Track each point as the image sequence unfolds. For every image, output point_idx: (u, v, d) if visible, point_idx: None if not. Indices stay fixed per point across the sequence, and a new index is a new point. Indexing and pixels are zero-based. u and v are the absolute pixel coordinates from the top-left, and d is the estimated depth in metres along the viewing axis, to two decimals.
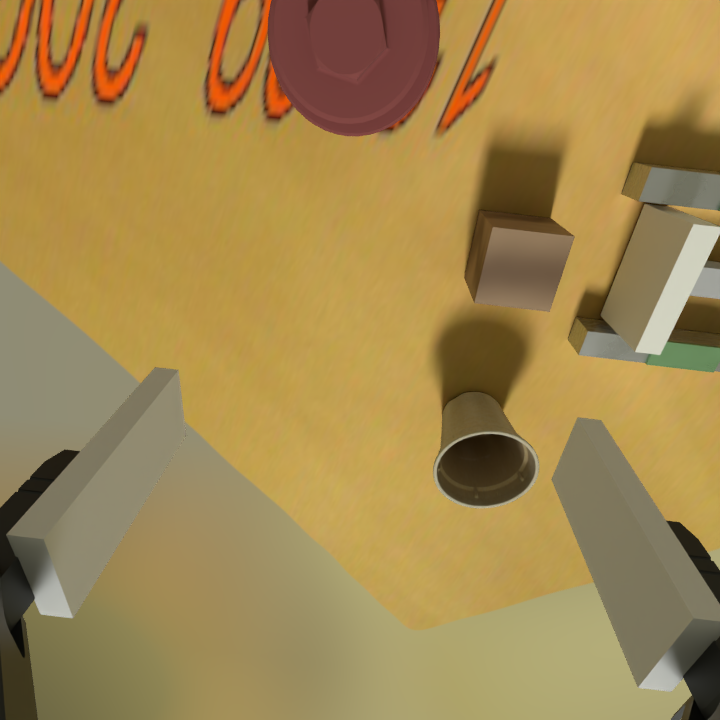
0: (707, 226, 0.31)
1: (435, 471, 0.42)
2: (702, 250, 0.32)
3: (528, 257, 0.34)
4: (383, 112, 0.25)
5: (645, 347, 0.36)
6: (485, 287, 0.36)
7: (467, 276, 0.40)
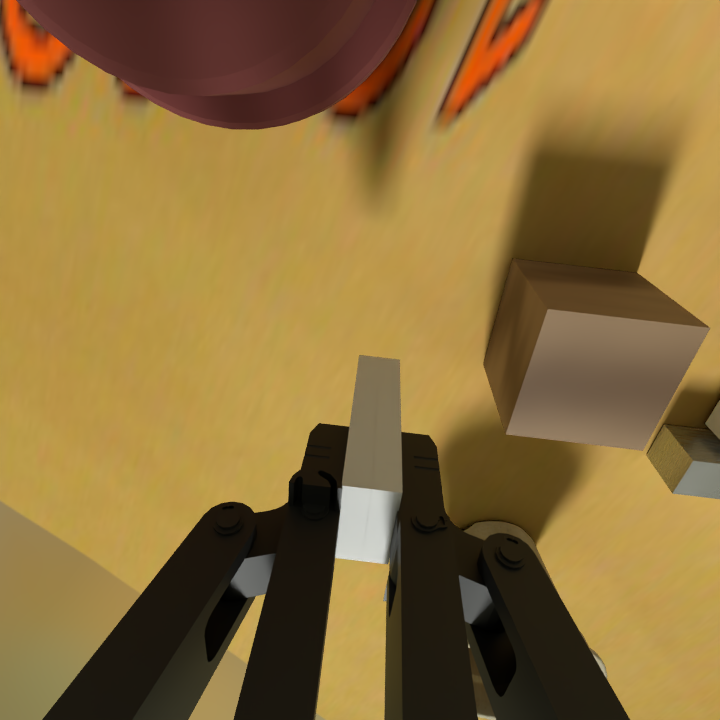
0: None
1: None
2: None
3: (612, 363, 0.18)
4: (287, 62, 0.09)
5: None
6: (527, 411, 0.19)
7: (489, 367, 0.24)
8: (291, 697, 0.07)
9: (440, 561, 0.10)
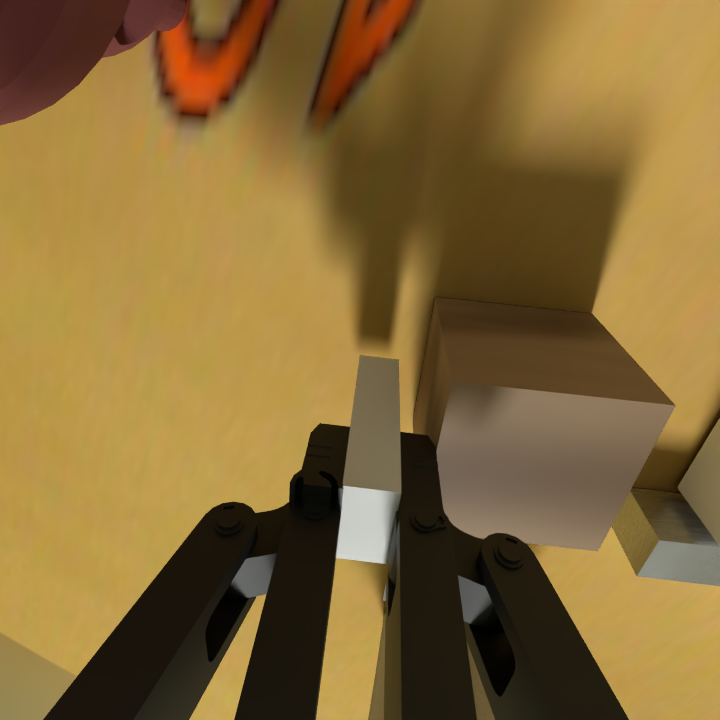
0: None
1: None
2: None
3: (547, 449, 0.13)
4: None
5: None
6: None
7: (415, 429, 0.19)
8: (291, 697, 0.07)
9: (439, 561, 0.10)
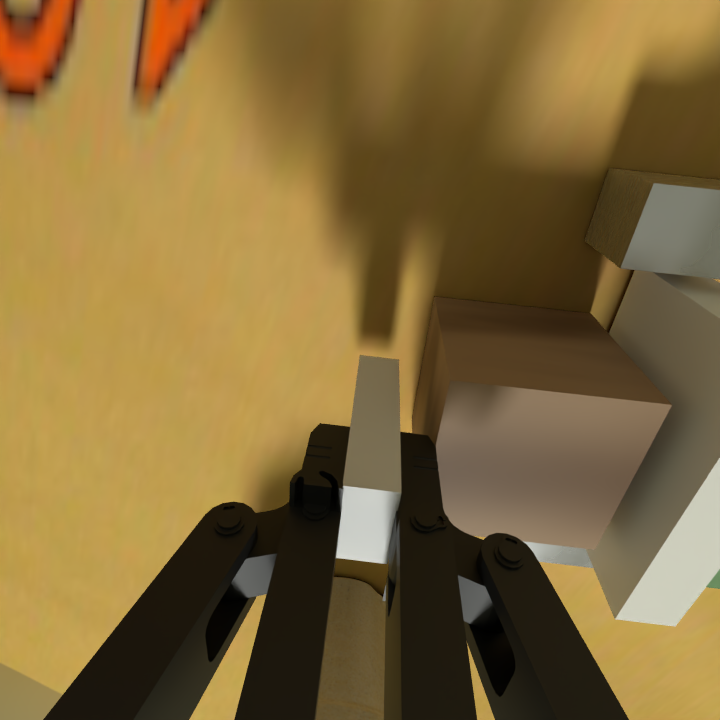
0: None
1: None
2: None
3: (544, 448, 0.13)
4: None
5: (639, 612, 0.15)
6: None
7: (414, 428, 0.19)
8: (291, 696, 0.07)
9: (439, 561, 0.10)
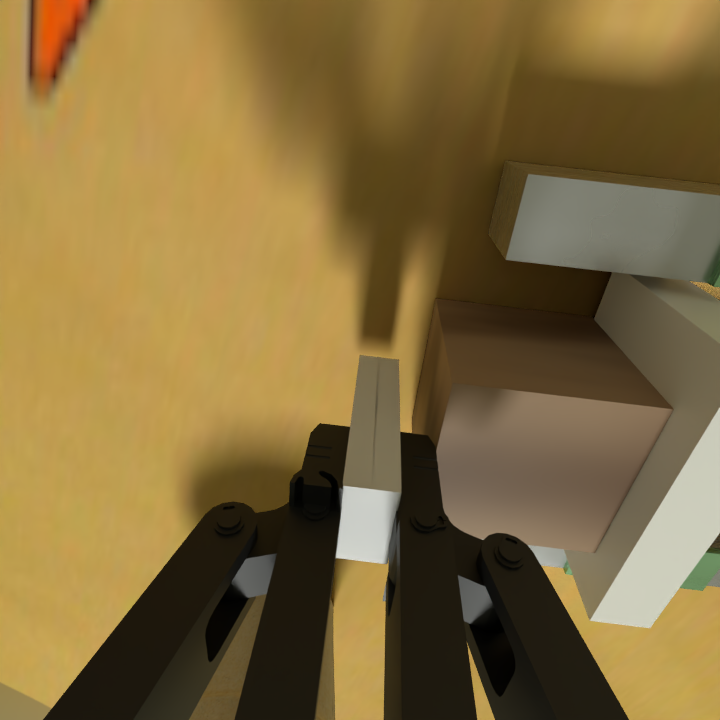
0: None
1: None
2: None
3: (546, 451, 0.13)
4: None
5: (614, 614, 0.15)
6: None
7: (414, 430, 0.19)
8: (291, 697, 0.07)
9: (439, 561, 0.10)
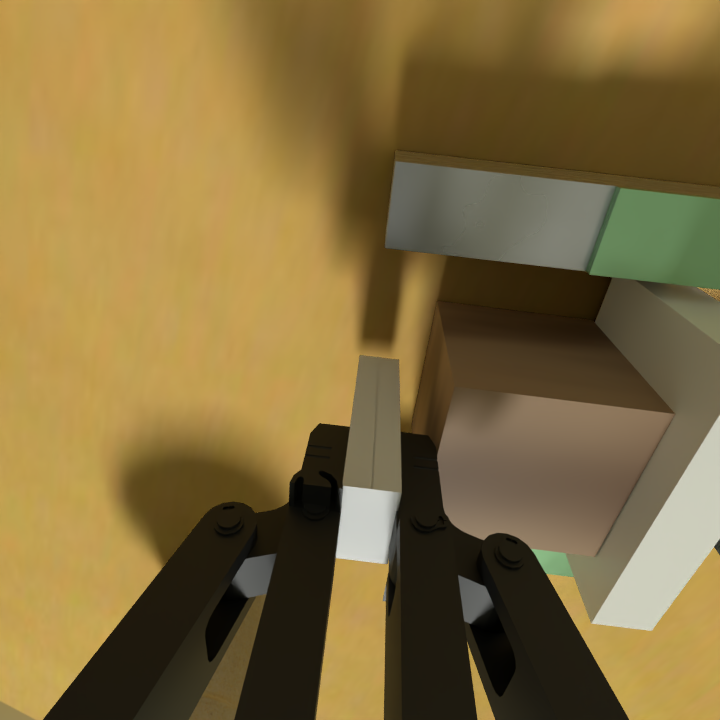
0: None
1: None
2: None
3: (547, 455, 0.13)
4: None
5: (615, 617, 0.15)
6: None
7: (414, 432, 0.19)
8: (291, 697, 0.07)
9: (439, 561, 0.10)
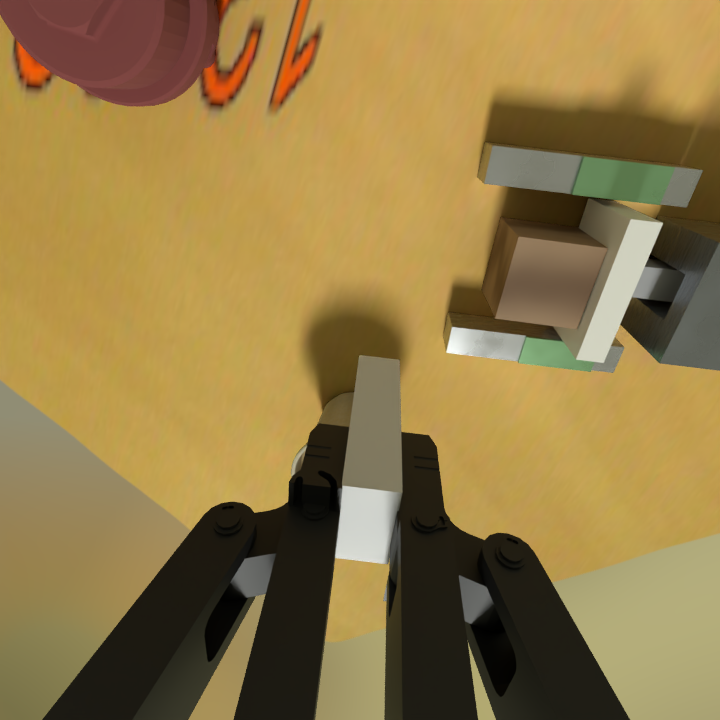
0: (646, 221, 0.28)
1: None
2: (642, 248, 0.29)
3: (556, 270, 0.31)
4: (133, 74, 0.22)
5: (587, 354, 0.33)
6: (507, 302, 0.33)
7: (485, 288, 0.37)
8: (291, 697, 0.07)
9: (440, 561, 0.10)
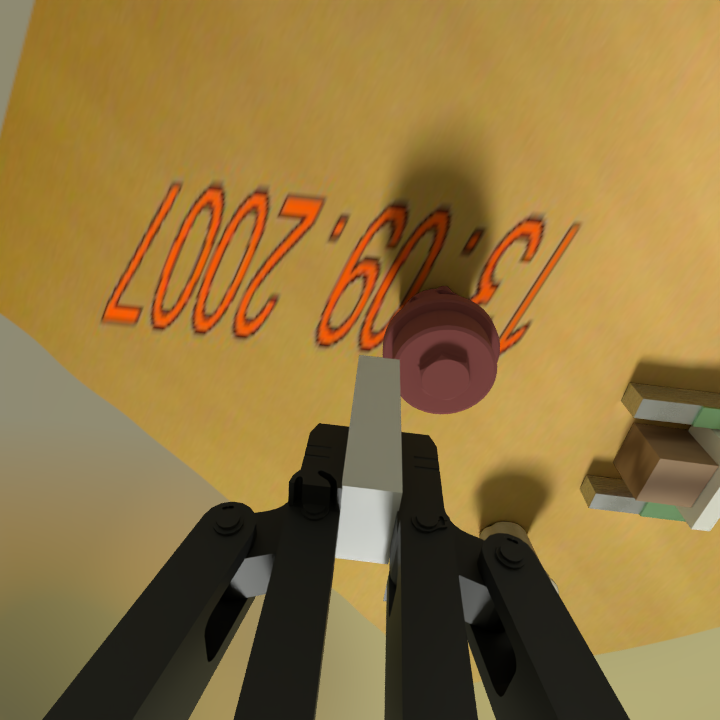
0: None
1: None
2: None
3: (682, 476, 0.47)
4: (463, 409, 0.38)
5: (699, 526, 0.49)
6: (646, 492, 0.49)
7: (619, 466, 0.53)
8: (291, 697, 0.07)
9: (440, 561, 0.10)
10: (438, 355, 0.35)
